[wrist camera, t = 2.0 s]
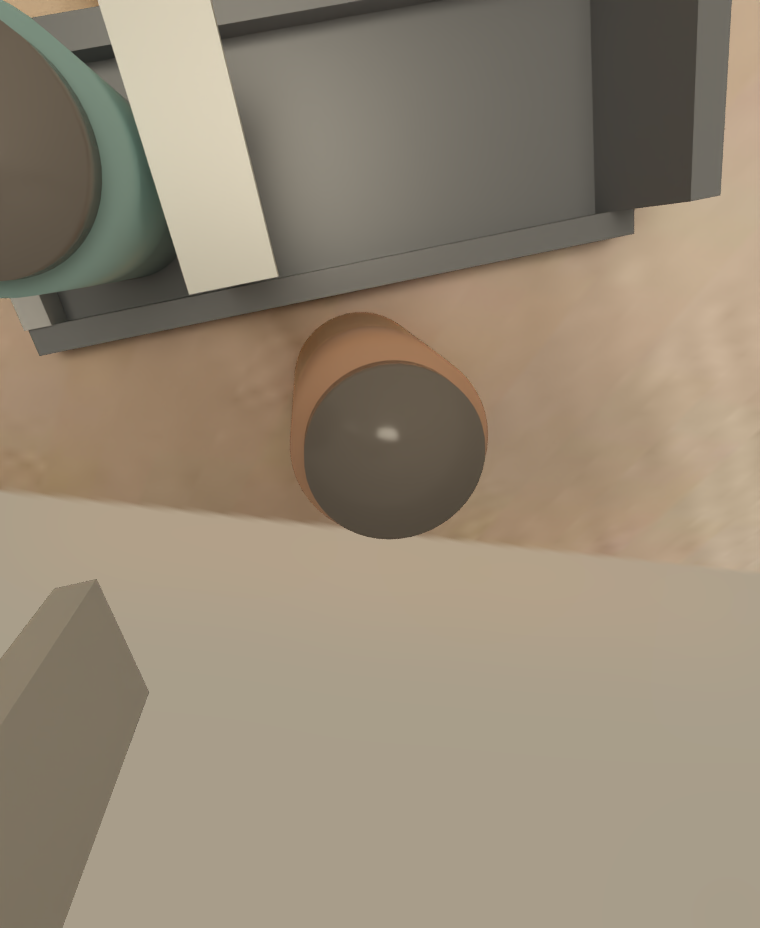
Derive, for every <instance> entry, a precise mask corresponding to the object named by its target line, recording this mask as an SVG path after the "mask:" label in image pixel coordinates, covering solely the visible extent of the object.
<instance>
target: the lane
mask: <svg viewBox="0 0 760 928" xmlns="http://www.w3.org/2000/svg"><path fill="white" fill-rule="evenodd" d="M212 4H213V8H214V12H215V16H216V20H217V24H218V29H219V33H220V37H221V41H222V45H223V49H224V53H225V57H226V61H227V65H228V69H229V74H230V78H231V82H232V86H233V90H234V94H235V98H236V102H237V106H238V110H239V114H240V119H241V123H242V127H243V131H244V135H245V139H246V143H247V147H248V151H249V155H250V159H251V164H252V168H253V172H254V176H255V180H256V184H257V188H258V192H259V196H260V200H261V204H262V209H263V213H264V217H265V221H266V225H267V229H268V233H269V237H270V241H271V245H272V249H273V254H274V258H275V262H276V266H277V270H278V274H279V276H278V277H274V278H269V279H264V280H259V281H254V282H249V283H244V284H239V285H234V286H230V287H225V288H220V289H215V290H210V291H205V292H200V293H195V294H190V295H189V293H188V289H187V286H186V283H185V280H184V277H183V273H182V270H181V267H180V264H179V260H178V257H176V258H175V259H174V260H173V261H172V262H171V263H170V264H169V265H168V266H166V267H165V268H163V269H162V270H160V271H159V272H156V273H154V274H152V275H150V276H146V277H143V278H139V279H133V280H126V281H120V282H114V283H108V284H102V285H96V286H90V287H84V288H78V289H72V290H66V291H60V292H54V293H48V294H42V295H36V296H29V297H21V298H10V299H11V301H12V304H13V306H14V308H15V311H16V313H17V315H18V317H19V320H20V322H21V324H22V327H23V329H24V331H26V330H29V333H30V335H31V337H32V340H33V342H34V344H35V347H36V349H37V351H38V353H39V356H42V355H47V354H52V353H56V352H61V351H66V350H71V349H76V348H81V347H86V346H90V345H95V344H100V343H105V342H110V341H115V340H120V339H124V338H129V337H134V336H139V335H144V334H149V333H154V332H158V331H163V330H168V329H173V328H178V327H183V326H188V325H192V324H197V323H202V322H207V321H212V320H217V319H222V318H226V317H231V316H236V315H241V314H246V313H251V312H256V311H260V310H265V309H270V308H275V307H280V306H285V305H290V304H294V303H299V302H304V301H309V300H314V299H319V298H324V297H328V296H333V295H338V294H343V293H348V292H353V291H358V290H363V289H367V288H372V287H377V286H382V285H387V284H392V283H397V282H401V281H406V280H411V279H416V278H421V277H426V276H431V275H435V274H440V273H445V272H450V271H455V270H460V269H465V268H469V267H474V266H479V265H484V264H489V263H494V262H499V261H503V260H508V259H513V258H518V257H523V256H528V255H533V254H537V253H542V252H547V251H552V250H557V249H562V248H567V247H571V246H576V245H581V244H586V243H591V242H596V241H601V240H605V239H610V238H615V237H620V236H625V235H630V234H634V209H635V208H643V207H650V206H658V205H666V204H674V203H681V202H689V201H695V200H699V199H704V198H709V197H714V196H719V195H720V194H721V176H722V159H723V142H724V125H725V107H726V90H727V73H728V56H729V38H730V21H731V4H732V0H212ZM32 19H33V20H34V21H35V22H37V23H38V24H39V25H40V26H41V27H43V28H44V29H45V30H46V31H48V32H49V33H50V34H51V35H52V36H53V37H55V38H56V39H57V40H58V41H59V42H60V43H62V44H63V45H64V46H65V47H66V48H67V49H69V50H70V51H71V52H72V53H73V54H74V55H76V56H77V57H78V58H79V59H80V60H81V61H82V62H84V63H85V64H86V65H87V66H88V67H89V68H91V69H92V70H93V71H94V72H95V73H96V74H98V75H99V76H100V77H101V78H102V79H103V80H104V81H106V82H107V83H108V84H109V85H110V86H111V87H113V88H114V89H115V90H116V91H117V92H118V93H120V94H121V95H122V96H123V97H124V98H125V99H127V100H128V96H127V93H126V90H125V87H124V83H123V80H122V77H121V74H120V71H119V67H118V64H117V61H116V58H115V54H114V51H113V48H112V45H111V42H110V38H109V35H108V32H107V29H106V25H105V22H104V19H103V16H102V13H101V9H100V6H97V7H91V8H86V9H80V10H74V11H68V12H62V13H57V14H51V15H45V16H39V17H33V18H32ZM128 101H129V100H128Z"/></svg>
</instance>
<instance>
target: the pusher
mask: <svg viewBox="0 0 760 928" xmlns="http://www.w3.org/2000/svg"><path fill="white" fill-rule="evenodd" d="M98 3H99V6H100V9H101V13H102V16H103V19H104V22H105V25H106V29H107V32H108V35H109V38H110V42H111V45H112V48H113V51H114V54H115V58H116V61H117V64H118V67H119V71H120V74H121V77H122V80H123V83H124V87H125V90H126V93H127V96H128V100H129V103H130V106H131V109H132V112H133V116H134V119H135V122H136V125H137V128H138V132H139V135H140V138H141V141H142V145H143V148H144V151H145V154H146V157H147V161H148V164H149V167H150V170H151V174H152V177H153V180H154V183H155V186H156V190H157V193H158V196H159V199H160V203H161V206H162V209H163V212H164V215H165V219H166V222H167V225H168V228H169V231H170V235H171V238H172V241H173V244H174V248H175V251H176V254H177V257H178V260H179V264H180V267H181V270H182V273H183V277H184V280H185V283H186V286H187V289H188V293H189V295H190V294H195V293H200V292H205V291H210V290H215V289H220V288H225V287H230V286H234V285H239V284H244V283H249V282H254V281H259V280H264V279H269V278H274V277H278V276H279V274H278V270H277V266H276V262H275V258H274V254H273V249H272V245H271V241H270V237H269V233H268V229H267V225H266V221H265V217H264V213H263V209H262V204H261V200H260V196H259V192H258V188H257V184H256V180H255V176H254V172H253V168H252V164H251V159H250V155H249V151H248V147H247V143H246V139H245V135H244V131H243V127H242V123H241V119H240V114H239V110H238V106H237V102H236V98H235V94H234V90H233V86H232V82H231V78H230V74H229V69H228V65H227V61H226V57H225V53H224V49H223V45H222V41H221V37H220V33H219V29H218V24H217V20H216V16H215V12H214V8H213V4H212V0H98Z"/></svg>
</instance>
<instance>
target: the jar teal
mask: <svg viewBox="0 0 760 928" xmlns="http://www.w3.org/2000/svg"><path fill="white" fill-rule="evenodd" d="M176 257H177V254H176V251H175V248H174V244H173V241H172V238H171V235H170V231H169V228H168V225H167V222H166V219H165V215H164V212H163V209H162V206H161V203H160V199H159V196H158V193H157V190H156V186H155V183H154V180H153V177H152V174H151V170H150V167H149V164H148V161H147V157H146V154H145V151H144V148H143V145H142V141H141V138H140V135H139V132H138V128H137V125H136V122H135V119H134V116H133V112H132V109H131V106H130V103H129V101H128V100H127V99H125V98H124V97H123V96H122V95H121V94H120V93H118V92H117V91H116V90H115V89H114V88H113V87H111V86H110V85H109V84H108V83H107V82H106V81H104V80H103V79H102V78H101V77H100V76H99V75H98V74H96V73H95V72H94V71H93V70H92V69H91V68H89V67H88V66H87V65H86V64H85V63H84V62H82V61H81V60H80V59H79V58H78V57H77V56H76V55H74V54H73V53H72V52H71V51H70V50H69V49H67V48H66V47H65V46H64V45H63V44H62V43H60V42H59V41H58V40H57V39H56V38H55V37H53V36H52V35H51V34H50V33H49V32H48V31H46V30H45V29H44V28H43V27H41V26H40V25H39V24H38V23H37V22H35V21H34V20H33V19H32V18H30V17H29V16H27V15H26V14H24V13H23V12H21V11H20V10H18V9H17V8H15V7H14V6H12V5H10V4H9V3H7V2H5V1H3V0H0V298H21V297H29V296H36V295H42V294H48V293H54V292H60V291H66V290H72V289H78V288H84V287H90V286H96V285H102V284H108V283H114V282H120V281H126V280H133V279H139V278H143V277H146V276H150V275H152V274H154V273H156V272H159V271H160V270H162V269H163V268H165V267H166V266H168V265H169V264H170V263H171V262H172V261H173V260H174V259H175V258H176Z"/></svg>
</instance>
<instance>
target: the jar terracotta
mask: <svg viewBox="0 0 760 928" xmlns="http://www.w3.org/2000/svg"><path fill="white" fill-rule="evenodd" d="M487 441H488V429H487V421H486V415H485V411H484V408H483V405H482V402H481V400H480V398H479V396H478V394H477V392H476V390H475V389H474V387H473V386H472V384H471V383H470V381H469V380H468V379H467V378H466V377H465V376H464V375H463V374H462V372H461V371H459V370H458V369H457V368H456V367H455V366H453V365H452V364H451V363H450V362H448V361H447V360H446V359H444V358H443V357H442V356H440V355H439V354H438V353H436V352H435V351H434V350H432V349H431V348H430V347H428V346H427V345H426V344H424V343H423V342H422V341H420V340H419V339H418V338H416V337H415V336H414V335H412V334H411V333H410V332H408V331H407V330H406V329H405V328H403V327H402V326H401V325H399V324H398V323H396V322H394V321H393V320H391V319H389V318H387V317H384V316H381V315H378V314H374V313H367V312H355V313H348V314H344V315H341V316H338V317H335V318H333V319H331V320H329V321H327V322H326V323H324V324H323V325H321V326H320V327H319V328H318V329H316V330H315V331H314V332H313V333H312V334H311V335H310V337H309V338H308V339H307V341H306V342H305V343H304V345H303V347H302V349H301V351H300V353H299V356H298V359H297V362H296V367H295V375H294V390H293V406H292V421H291V436H290V453H291V460H292V466H293V470H294V473H295V475H296V478H297V481H298V483H299V485H300V487H301V489H302V491H303V492H304V493H305V495H306V496H307V498H308V499H309V501H310V502H311V503H312V504H313V505H314V506H315V507H316V508H317V509H318V510H319V511H320V512H321V513H323V514H324V515H325V516H326V517H328V518H329V519H331V520H333V521H334V522H336V523H337V524H340V525H341V526H343V527H344V528H346V529H348V530H350V531H353V532H355V533H357V534H360V535H363V536H367V537H372V538H378V539H401V538H407V537H412V536H415V535H419V534H422V533H424V532H427V531H429V530H432V529H434V528H435V527H437V526H439V525H441V524H442V523H444V522H445V521H447V520H448V519H449V518H451V517H452V516H453V515H454V514H455V513H456V512H457V511H458V510H460V508H461V507H462V506H463V505H464V504H465V503H466V502H467V500H468V499H469V497H470V496H471V494H472V493H473V491H474V489H475V487H476V485H477V483H478V481H479V479H480V476H481V473H482V470H483V465H484V461H485V455H486V451H487Z"/></svg>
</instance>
